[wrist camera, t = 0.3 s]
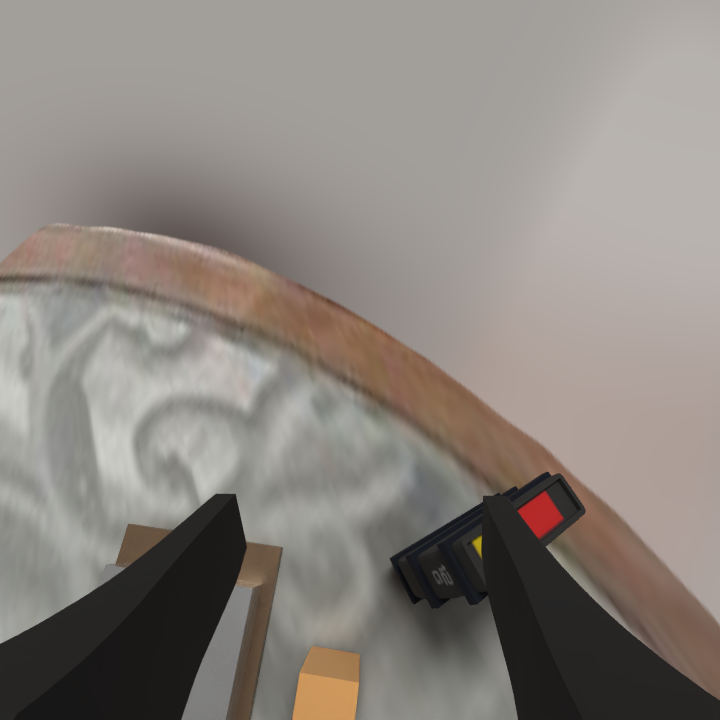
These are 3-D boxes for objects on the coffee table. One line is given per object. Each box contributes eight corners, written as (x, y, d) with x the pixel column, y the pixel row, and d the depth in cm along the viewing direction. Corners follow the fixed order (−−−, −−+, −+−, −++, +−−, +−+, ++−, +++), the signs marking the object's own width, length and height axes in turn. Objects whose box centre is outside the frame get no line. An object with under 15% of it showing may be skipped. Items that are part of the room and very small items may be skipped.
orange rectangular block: (352, 710, 35) (350, 758, 28) (303, 702, 35) (287, 746, 28) (359, 652, 36) (359, 682, 29) (312, 644, 37) (299, 672, 29)
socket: (234, 805, 33) (215, 845, 29) (56, 771, 34) (13, 805, 29) (282, 547, 39) (273, 548, 35) (133, 524, 40) (107, 523, 36)
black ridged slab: (357, 576, 37) (452, 538, 26) (462, 509, 44) (572, 457, 33) (379, 621, 36) (489, 602, 24) (483, 545, 43) (605, 503, 32)
